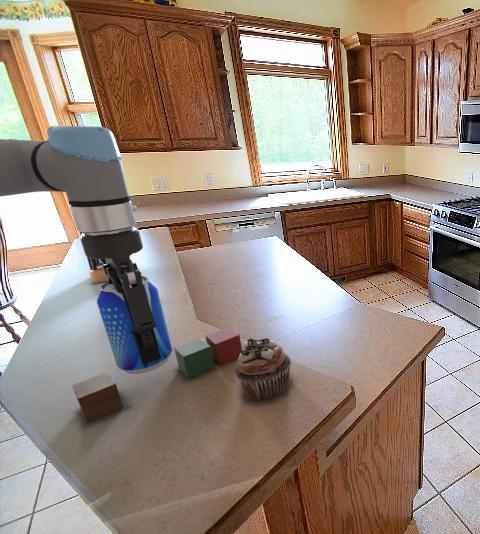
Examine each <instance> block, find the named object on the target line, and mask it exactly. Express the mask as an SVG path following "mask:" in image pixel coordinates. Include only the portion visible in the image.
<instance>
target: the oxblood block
mask: <svg viewBox="0 0 480 534" xmlns="http://www.w3.org/2000/svg"><path fill="white" fill-rule="evenodd" d="M205 342H206V343H207V344H208V345H209V346H210V347H211V352H212V357H213V361H214V362H215V363H217V364H218V365H220V366H221V365H222V364H226V363H228V362H229V361H232V360H234V359H236V358H239V356H240V354H241V353H242V351H243V347H242V341H241V335H240V334H239V333H238V332H237V331H235V330H234V329H233V328H231V327H230V326H227V327H224V328H222V329H220V330H216V331H213V332H211V333H209V334H206V335H205Z"/></svg>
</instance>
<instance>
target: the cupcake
mask: <svg viewBox="0 0 480 534" xmlns="http://www.w3.org/2000/svg"><path fill="white" fill-rule="evenodd" d="M258 342H259V343H258ZM243 344H244V345H243V349H244V350H242V353H241V354H240V356H239V357H237V362H236V364H235V368H234V373H235V376H236V378H237V379H238V381H239V382H240V384H241V387H242V389H243V390H244V394H245V395H246V397H247V398H248V399H250V400H252V401H257V402H258V401H259V402H260V401H267V400H272V399H274V398H276V397H278V396H280V395H282V394H283V393H284V392H285V391H286V389H287V388H288V386H289V382H290V373H291V372H290V371H291V364H292V361H291V357H290V356H289V355H287V354H286V353H285V352H284V348H282V346H280V345H279V344H276V341H272V340H270V339H269V338H262V339H259V340H258V339H252V337H250V338H249V339H246V341H245V342H244V343H243Z"/></svg>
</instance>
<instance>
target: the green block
mask: <svg viewBox="0 0 480 534" xmlns="http://www.w3.org/2000/svg"><path fill="white" fill-rule="evenodd" d="M173 350H174V354H175V357H176V362H177V366H178V369H179V370H180V372H182V373H183V374H184V376H185V377H186V378H187V379H191V378H193V377H195V376H197V375H200V374H202V373H205V372H206V371H209V370H211V369H214V368H215V361H214V359H213V357H212V352H211V347H210V346H209V345H208V344H207V341H206V340H204V339H202V338H201V337H197V338H195V339H192V340H190V341H187V342H185V343H181V344H179V345H176V346H174V347H173Z"/></svg>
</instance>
